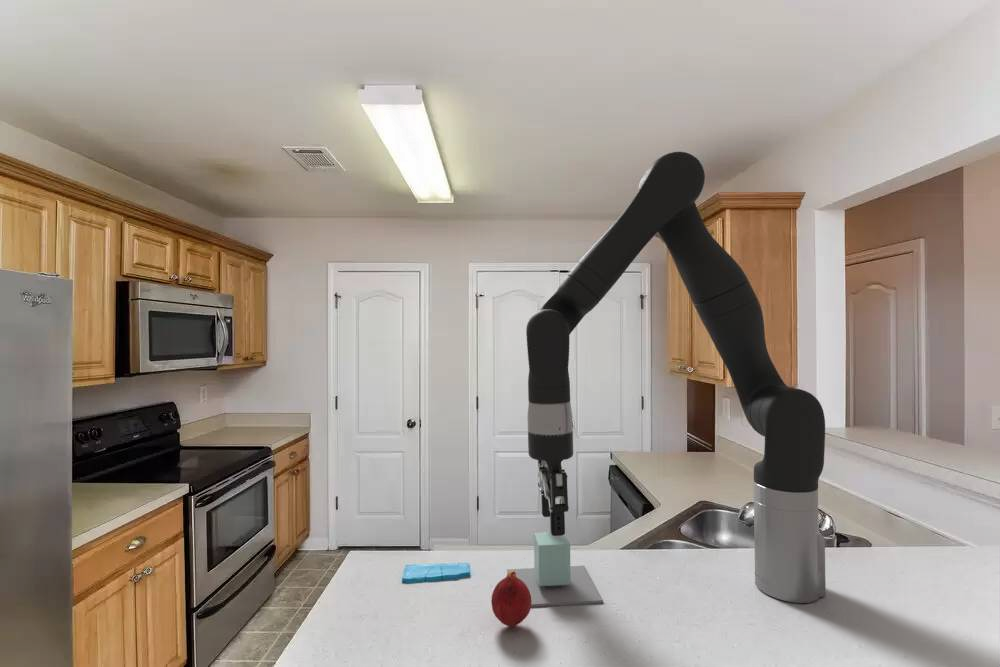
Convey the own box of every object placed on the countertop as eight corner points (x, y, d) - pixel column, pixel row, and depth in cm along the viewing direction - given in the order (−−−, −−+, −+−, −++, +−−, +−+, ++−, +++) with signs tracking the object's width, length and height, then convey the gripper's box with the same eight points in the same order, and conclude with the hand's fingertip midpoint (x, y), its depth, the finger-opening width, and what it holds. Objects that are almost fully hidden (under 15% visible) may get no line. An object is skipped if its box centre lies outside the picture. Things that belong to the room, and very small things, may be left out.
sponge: (469, 578, 86) (471, 559, 92) (399, 580, 86) (405, 561, 92) (470, 587, 86) (471, 567, 92) (399, 588, 86) (405, 568, 92)
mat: (584, 567, 91) (584, 565, 91) (603, 602, 79) (603, 600, 79) (507, 571, 90) (507, 569, 90) (514, 607, 78) (514, 605, 78)
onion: (528, 641, 69) (527, 583, 70) (487, 636, 71) (487, 579, 71) (534, 617, 75) (533, 564, 75) (496, 613, 76) (495, 561, 76)
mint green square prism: (564, 569, 87) (563, 531, 87) (570, 584, 82) (570, 544, 82) (534, 571, 87) (533, 532, 87) (539, 586, 82) (538, 545, 82)
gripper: (582, 435, 78) (585, 540, 78) (563, 420, 92) (565, 509, 92) (534, 438, 77) (537, 543, 77) (522, 422, 91) (525, 511, 91)
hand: (552, 524), depth 85 cm, fingers open, 8 cm apart
